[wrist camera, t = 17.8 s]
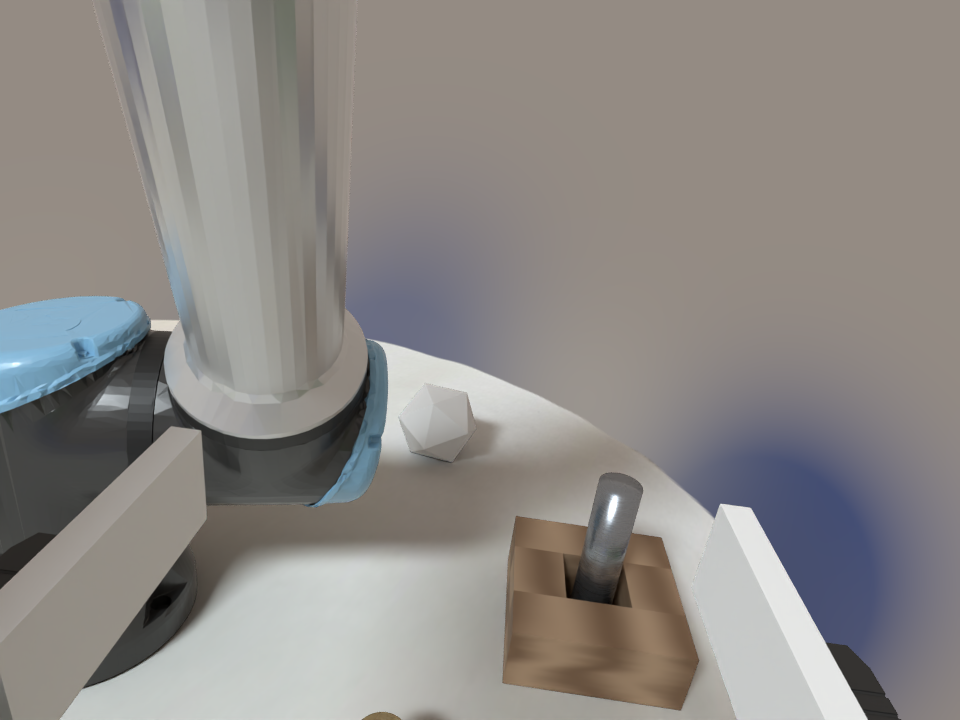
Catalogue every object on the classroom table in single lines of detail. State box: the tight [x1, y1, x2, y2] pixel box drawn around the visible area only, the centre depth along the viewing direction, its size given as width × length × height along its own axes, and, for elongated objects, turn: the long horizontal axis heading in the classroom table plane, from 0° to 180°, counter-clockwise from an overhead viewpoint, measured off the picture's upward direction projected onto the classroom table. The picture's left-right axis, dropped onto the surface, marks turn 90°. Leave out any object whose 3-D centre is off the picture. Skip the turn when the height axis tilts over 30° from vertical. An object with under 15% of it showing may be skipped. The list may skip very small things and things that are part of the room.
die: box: [398, 383, 477, 462], centre depth 71 cm, size 8×9×10 cm
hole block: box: [503, 516, 699, 710], centre depth 50 cm, size 13×13×5 cm
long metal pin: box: [571, 473, 643, 605], centre depth 48 cm, size 3×3×14 cm
